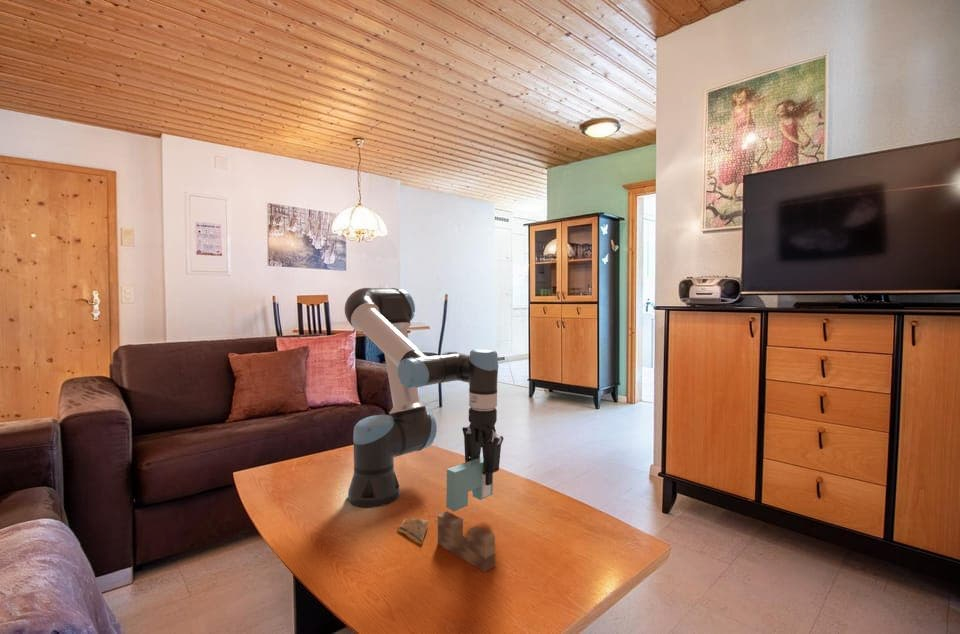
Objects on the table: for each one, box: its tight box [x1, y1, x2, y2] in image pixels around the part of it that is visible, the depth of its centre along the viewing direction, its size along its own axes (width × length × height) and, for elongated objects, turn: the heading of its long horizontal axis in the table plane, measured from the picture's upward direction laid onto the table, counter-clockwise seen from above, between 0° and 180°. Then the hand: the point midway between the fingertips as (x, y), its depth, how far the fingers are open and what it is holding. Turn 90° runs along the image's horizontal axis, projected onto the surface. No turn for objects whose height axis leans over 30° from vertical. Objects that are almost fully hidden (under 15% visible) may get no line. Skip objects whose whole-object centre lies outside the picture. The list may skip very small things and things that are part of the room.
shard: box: [396, 518, 429, 546], centre depth 114 cm, size 11×8×2 cm
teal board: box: [445, 456, 494, 512], centre depth 118 cm, size 14×3×10 cm, turn 135°
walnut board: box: [437, 511, 496, 573], centre depth 104 cm, size 16×3×7 cm, turn 45°
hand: (480, 493), depth 121 cm, fingers closed on teal board, 3 cm apart
